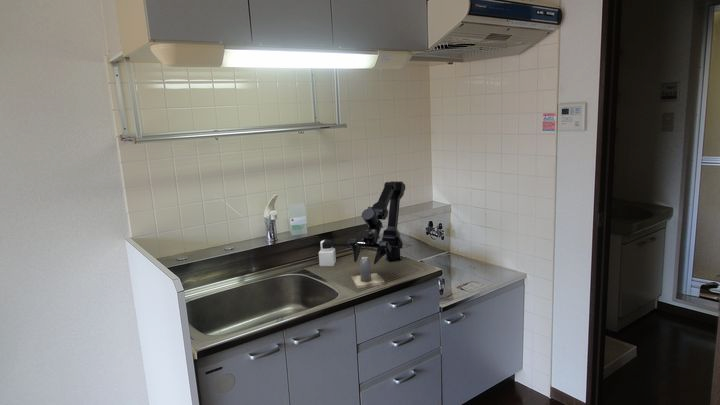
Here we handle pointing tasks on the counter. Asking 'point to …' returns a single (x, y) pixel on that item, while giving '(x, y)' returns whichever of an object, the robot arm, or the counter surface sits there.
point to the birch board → (374, 282)
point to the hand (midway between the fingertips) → (364, 262)
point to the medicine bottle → (327, 253)
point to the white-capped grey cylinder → (365, 269)
